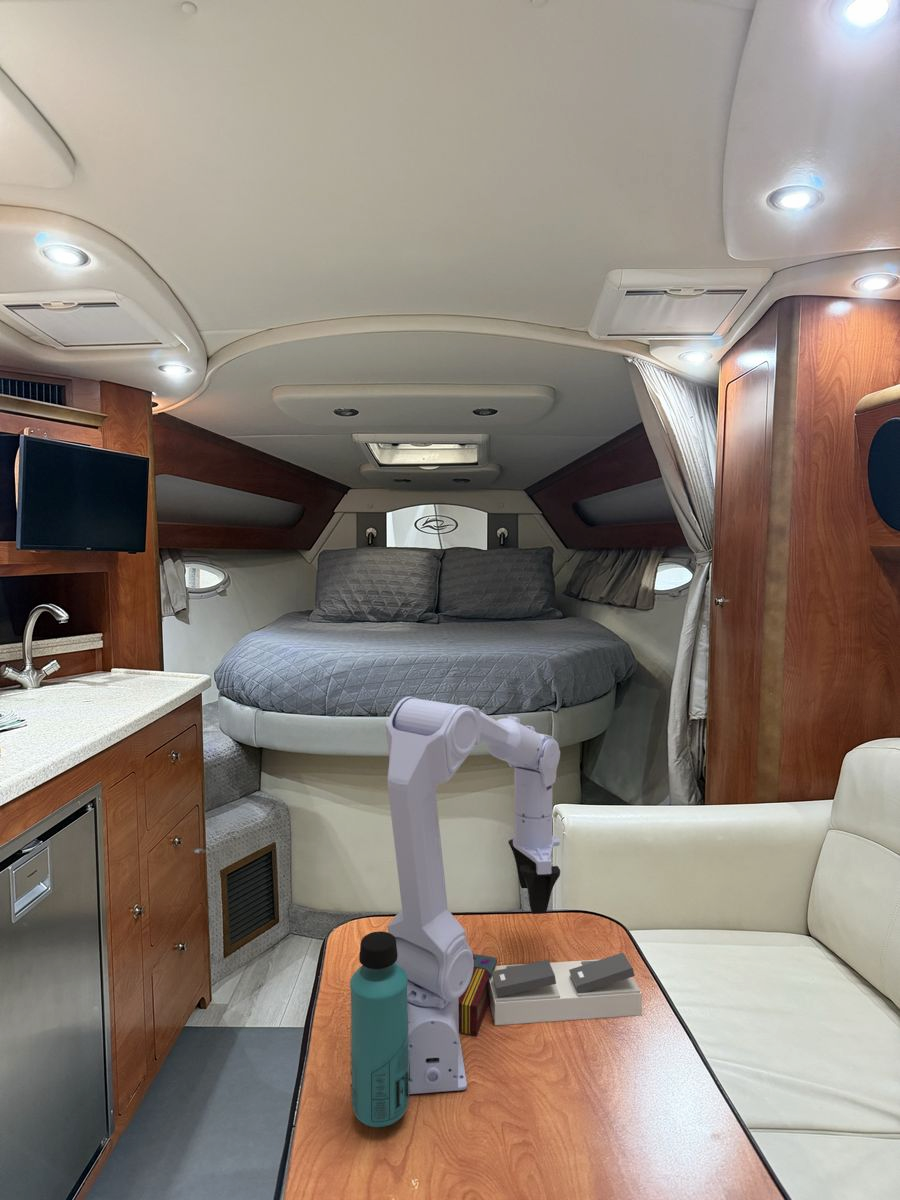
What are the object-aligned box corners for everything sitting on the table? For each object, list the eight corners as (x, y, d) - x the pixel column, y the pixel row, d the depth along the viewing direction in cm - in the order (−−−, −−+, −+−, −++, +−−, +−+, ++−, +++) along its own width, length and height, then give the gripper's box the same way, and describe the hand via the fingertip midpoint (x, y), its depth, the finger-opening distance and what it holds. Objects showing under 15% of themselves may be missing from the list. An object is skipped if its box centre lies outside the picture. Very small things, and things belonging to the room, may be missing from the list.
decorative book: (477, 1041, 83) (477, 1003, 83) (361, 1016, 88) (361, 980, 88) (497, 987, 94) (497, 953, 94) (393, 967, 99) (393, 935, 99)
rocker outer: (634, 976, 88) (632, 967, 88) (578, 994, 87) (576, 985, 87) (624, 960, 91) (622, 951, 91) (571, 977, 91) (568, 969, 91)
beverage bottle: (401, 1148, 67) (400, 960, 67) (340, 1136, 69) (339, 952, 68) (417, 1098, 74) (416, 926, 73) (361, 1088, 75) (360, 919, 74)
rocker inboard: (556, 983, 87) (554, 974, 87) (497, 996, 86) (496, 987, 86) (549, 967, 90) (548, 958, 90) (493, 979, 90) (491, 970, 89)
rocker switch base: (641, 1015, 88) (641, 991, 87) (495, 1025, 86) (495, 1001, 86) (620, 978, 96) (620, 956, 95) (485, 986, 94) (485, 964, 93)
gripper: (572, 829, 92) (572, 923, 92) (547, 794, 106) (546, 875, 107) (523, 831, 91) (523, 926, 91) (504, 795, 105) (504, 877, 106)
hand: (532, 899), depth 99 cm, fingers open, 7 cm apart
